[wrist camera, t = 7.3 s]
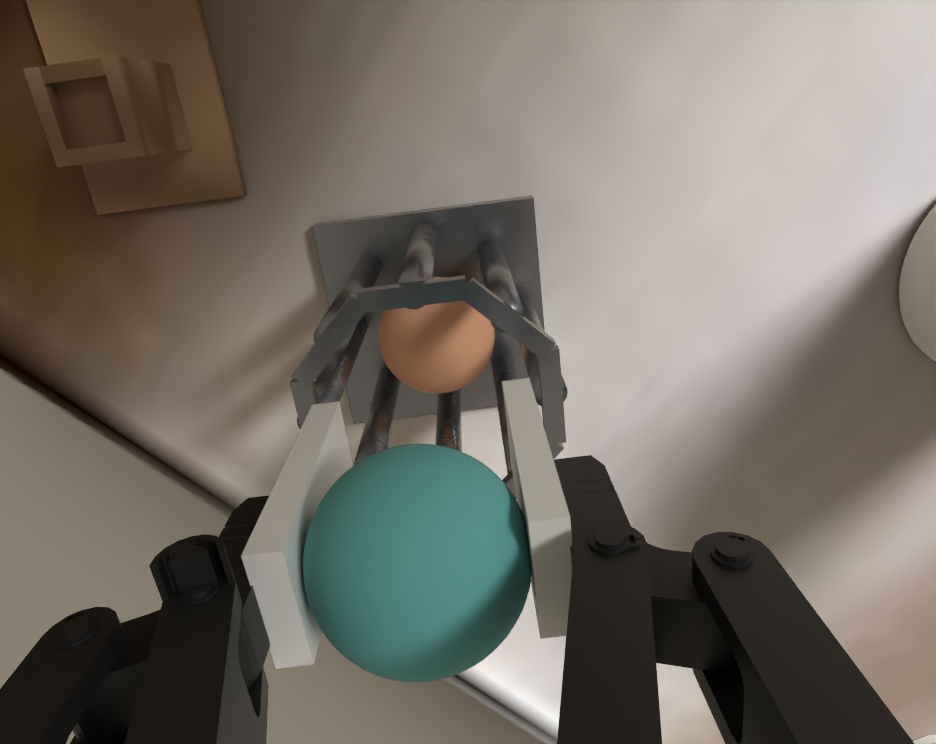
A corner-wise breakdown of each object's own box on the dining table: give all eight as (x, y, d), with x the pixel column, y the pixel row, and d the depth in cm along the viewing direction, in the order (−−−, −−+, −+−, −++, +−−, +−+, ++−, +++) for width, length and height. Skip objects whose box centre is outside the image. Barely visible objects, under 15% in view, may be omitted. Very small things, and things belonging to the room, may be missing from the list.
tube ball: (375, 272, 27) (361, 303, 23) (485, 258, 27) (491, 287, 23) (393, 373, 29) (383, 419, 25) (496, 361, 29) (504, 404, 25)
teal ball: (306, 420, 15) (247, 548, 10) (510, 395, 14) (535, 514, 10) (346, 584, 16) (308, 752, 12) (528, 563, 16) (556, 724, 12)
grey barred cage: (315, 223, 27) (243, 284, 18) (531, 195, 27) (573, 242, 17) (356, 417, 30) (313, 554, 21) (548, 394, 30) (590, 522, 21)
